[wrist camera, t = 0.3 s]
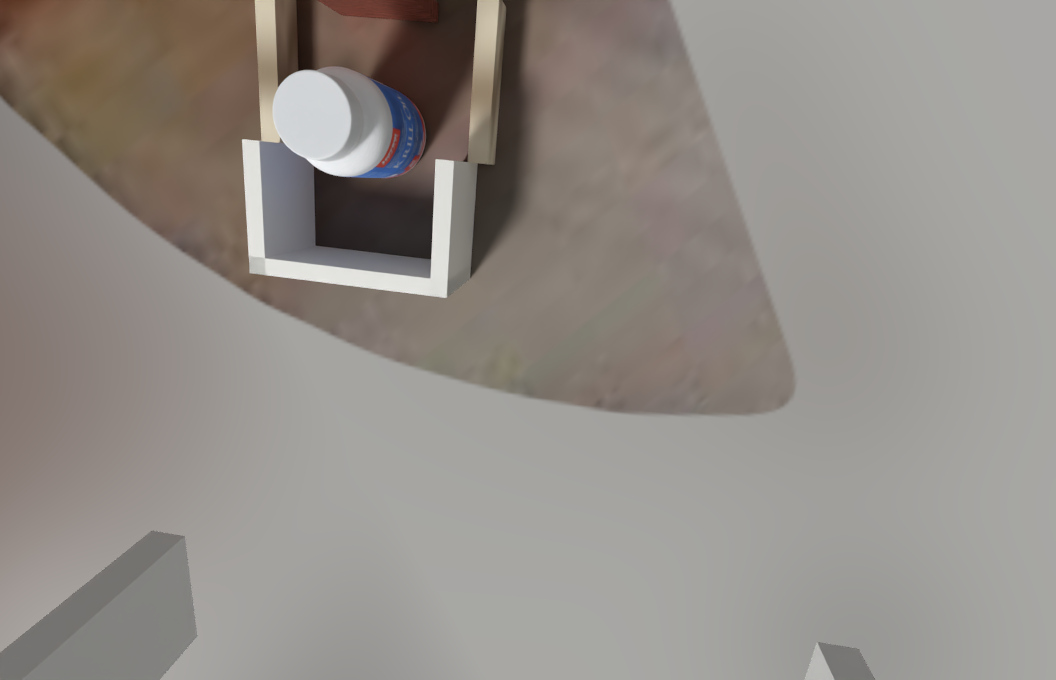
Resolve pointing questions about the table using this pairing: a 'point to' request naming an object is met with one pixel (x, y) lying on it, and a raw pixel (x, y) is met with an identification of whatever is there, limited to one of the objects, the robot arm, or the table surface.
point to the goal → (289, 249)
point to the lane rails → (282, 60)
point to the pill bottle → (348, 123)
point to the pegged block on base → (387, 9)
